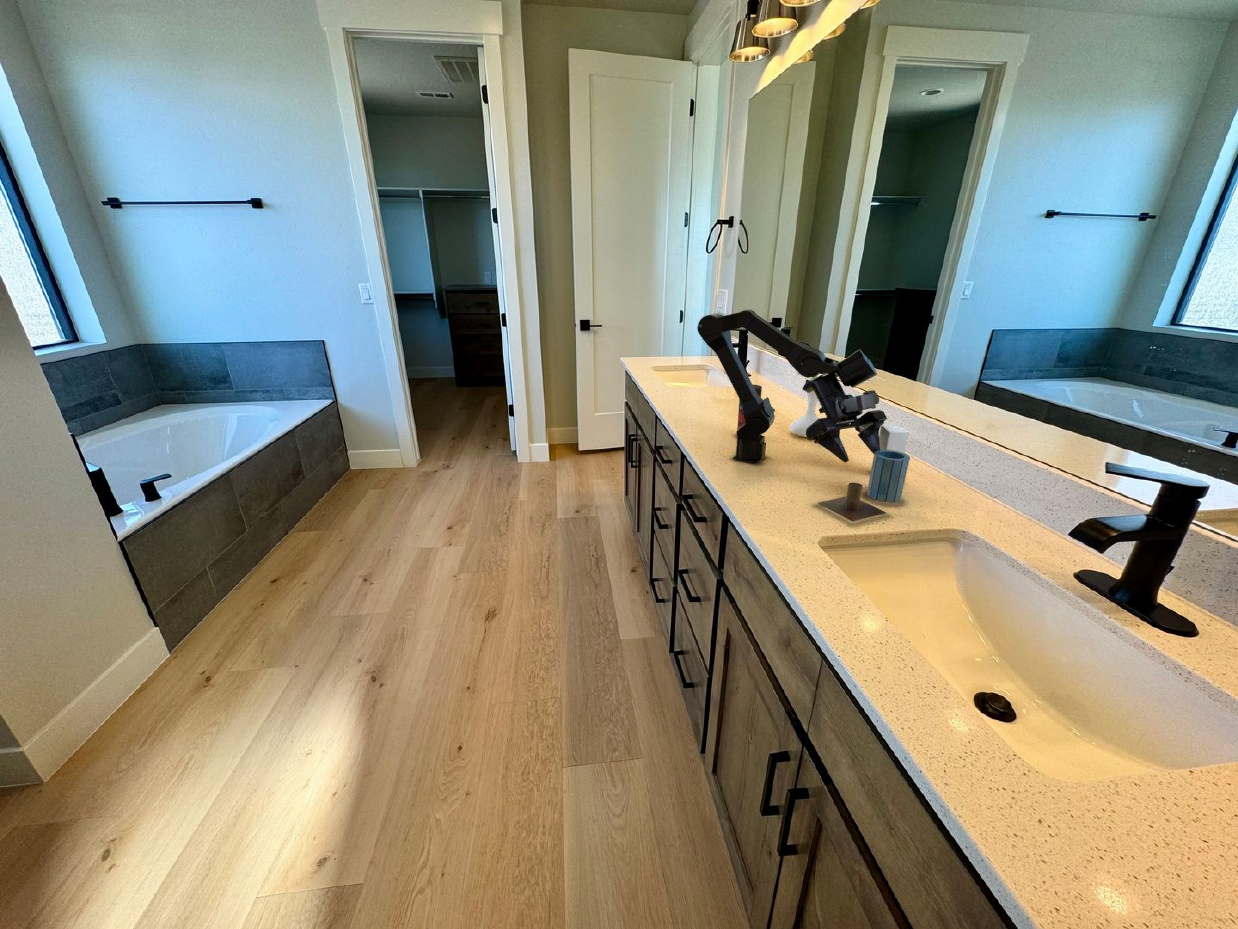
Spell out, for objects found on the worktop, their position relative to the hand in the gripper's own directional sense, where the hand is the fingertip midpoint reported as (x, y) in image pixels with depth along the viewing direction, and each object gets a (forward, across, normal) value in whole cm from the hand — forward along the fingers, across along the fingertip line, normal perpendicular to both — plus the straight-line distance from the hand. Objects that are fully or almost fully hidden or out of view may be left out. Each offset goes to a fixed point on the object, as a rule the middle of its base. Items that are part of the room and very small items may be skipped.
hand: (863, 458), depth 107 cm
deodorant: (-24, 0, +34) cm, 42 cm away
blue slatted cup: (+10, 0, 0) cm, 10 cm away
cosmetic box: (+4, +10, +6) cm, 13 cm away
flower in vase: (-19, +16, +30) cm, 39 cm away
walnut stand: (+11, -10, -1) cm, 15 cm away
